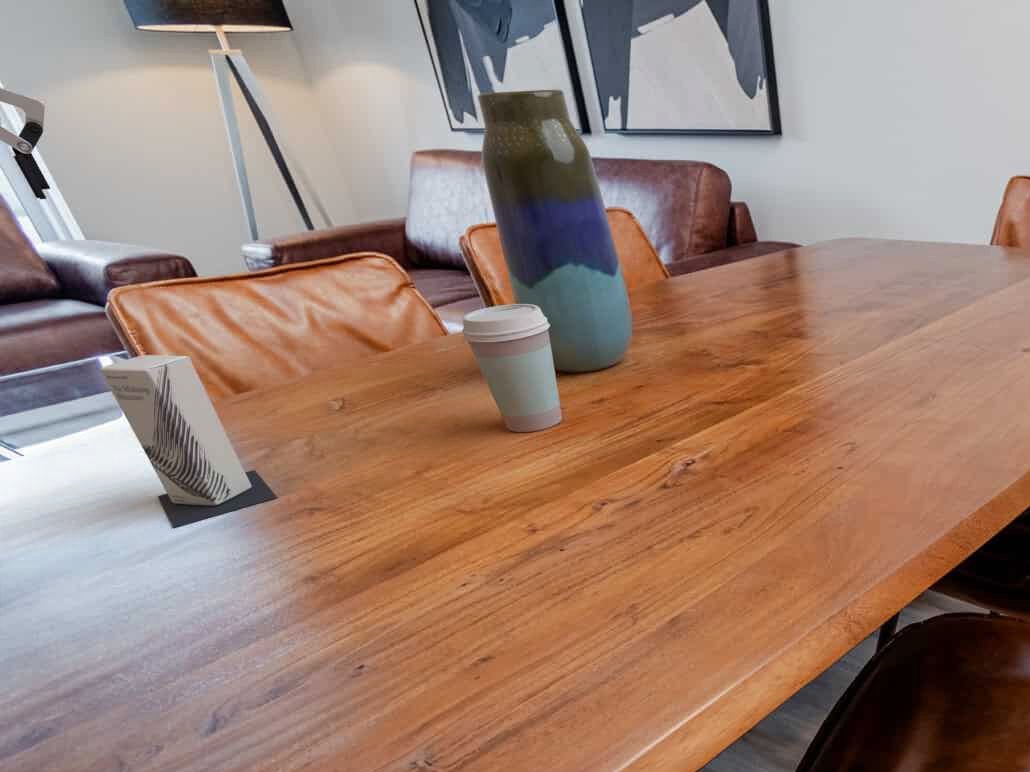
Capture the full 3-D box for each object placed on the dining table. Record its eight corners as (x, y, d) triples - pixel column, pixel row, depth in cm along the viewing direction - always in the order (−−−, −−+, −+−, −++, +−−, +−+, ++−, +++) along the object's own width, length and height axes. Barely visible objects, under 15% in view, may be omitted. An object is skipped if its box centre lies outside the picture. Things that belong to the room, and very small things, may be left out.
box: (171, 505, 76) (92, 368, 69) (212, 485, 80) (140, 353, 73) (219, 507, 76) (143, 368, 69) (258, 487, 79) (190, 353, 72)
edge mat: (173, 528, 72) (173, 527, 72) (157, 496, 79) (157, 496, 79) (277, 497, 77) (277, 496, 77) (254, 470, 83) (254, 469, 83)
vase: (555, 387, 102) (473, 93, 86) (520, 365, 112) (440, 96, 95) (658, 362, 109) (601, 86, 93) (617, 344, 119) (559, 90, 102)
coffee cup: (584, 408, 95) (556, 300, 89) (560, 434, 88) (528, 319, 81) (510, 412, 95) (477, 305, 89) (481, 439, 88) (442, 324, 81)
